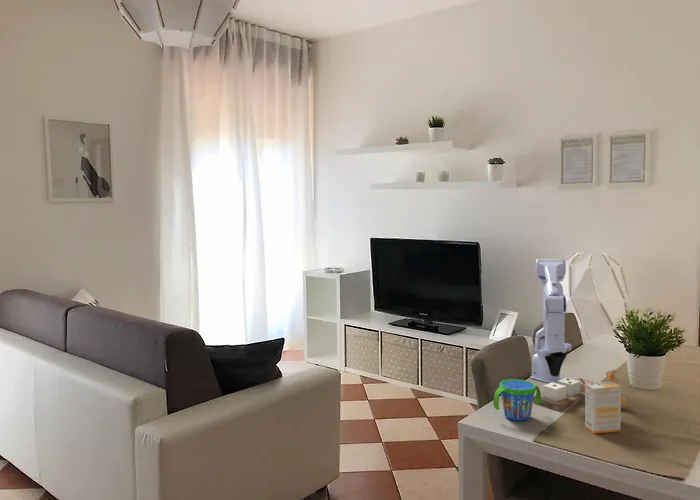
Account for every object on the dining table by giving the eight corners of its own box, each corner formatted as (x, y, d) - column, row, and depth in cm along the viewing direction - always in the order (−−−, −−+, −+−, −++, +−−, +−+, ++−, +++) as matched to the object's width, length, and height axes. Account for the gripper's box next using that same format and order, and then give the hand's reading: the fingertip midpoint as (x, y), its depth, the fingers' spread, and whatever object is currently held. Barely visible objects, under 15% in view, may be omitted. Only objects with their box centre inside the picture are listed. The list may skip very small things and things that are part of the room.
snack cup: (531, 408, 181) (531, 376, 180) (550, 420, 171) (550, 387, 170) (485, 413, 178) (485, 381, 177) (502, 426, 167) (502, 392, 167)
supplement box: (611, 425, 166) (611, 380, 165) (621, 432, 162) (621, 386, 160) (584, 427, 165) (584, 382, 164) (593, 434, 161) (593, 388, 159)
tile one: (556, 401, 181) (556, 388, 181) (542, 397, 185) (542, 384, 185) (566, 398, 184) (566, 385, 184) (552, 394, 188) (552, 381, 188)
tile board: (559, 411, 178) (559, 404, 178) (532, 402, 186) (532, 396, 186) (603, 394, 192) (603, 388, 192) (576, 387, 200) (576, 381, 200)
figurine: (624, 413, 175) (625, 374, 174) (603, 410, 178) (603, 372, 177) (628, 405, 182) (629, 367, 181) (608, 402, 185) (608, 365, 184)
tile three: (584, 396, 190) (584, 384, 190) (571, 392, 194) (571, 380, 194) (593, 393, 193) (593, 381, 192) (579, 389, 197) (580, 377, 196)
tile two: (570, 396, 185) (570, 383, 185) (557, 392, 190) (557, 380, 189) (580, 393, 188) (580, 380, 188) (566, 389, 192) (566, 377, 192)
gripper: (551, 339, 175) (551, 383, 177) (579, 332, 184) (579, 374, 185) (532, 335, 181) (532, 377, 182) (560, 328, 190) (560, 369, 191)
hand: (554, 375), depth 184 cm, fingers closed
